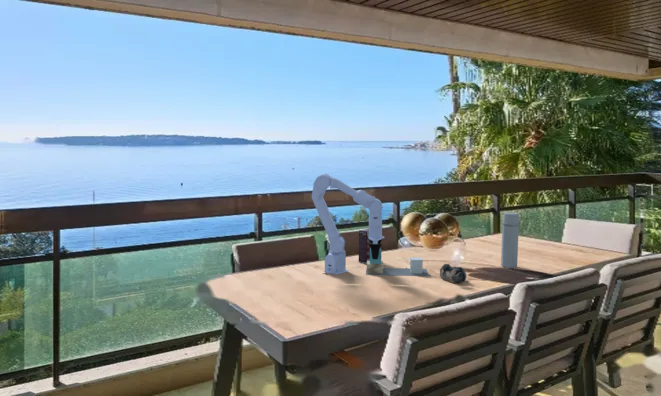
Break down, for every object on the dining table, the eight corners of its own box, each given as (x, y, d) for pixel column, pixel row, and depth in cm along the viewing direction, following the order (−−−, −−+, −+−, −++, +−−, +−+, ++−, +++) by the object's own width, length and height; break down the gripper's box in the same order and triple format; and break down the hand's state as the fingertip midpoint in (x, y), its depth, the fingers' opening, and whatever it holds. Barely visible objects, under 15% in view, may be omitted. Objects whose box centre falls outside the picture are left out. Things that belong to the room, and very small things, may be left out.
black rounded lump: (441, 278, 216) (432, 282, 207) (442, 261, 215) (433, 265, 207) (469, 282, 209) (461, 287, 201) (470, 265, 209) (462, 269, 200)
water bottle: (519, 269, 230) (521, 214, 227) (501, 268, 232) (503, 214, 229) (516, 264, 239) (518, 212, 236) (498, 263, 241) (500, 211, 238)
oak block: (366, 273, 220) (367, 264, 220) (367, 269, 227) (367, 260, 227) (383, 273, 220) (383, 264, 219) (382, 269, 227) (382, 260, 226)
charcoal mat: (365, 276, 218) (365, 274, 218) (366, 268, 231) (366, 267, 230) (429, 277, 215) (429, 276, 215) (426, 270, 228) (426, 268, 228)
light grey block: (410, 273, 220) (411, 259, 219) (410, 270, 225) (410, 257, 224) (422, 273, 220) (422, 260, 219) (421, 270, 225) (421, 257, 224)
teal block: (369, 263, 221) (369, 250, 220) (369, 261, 226) (370, 247, 225) (381, 263, 220) (381, 250, 220) (381, 261, 225) (381, 248, 225)
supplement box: (366, 264, 239) (366, 231, 237) (358, 263, 242) (358, 230, 240) (376, 261, 246) (376, 229, 244) (367, 259, 249) (368, 228, 247)
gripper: (384, 229, 214) (384, 261, 215) (384, 224, 228) (384, 253, 230) (368, 229, 215) (367, 260, 216) (368, 224, 229) (368, 253, 230)
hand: (375, 257), depth 223 cm, fingers open, 7 cm apart
